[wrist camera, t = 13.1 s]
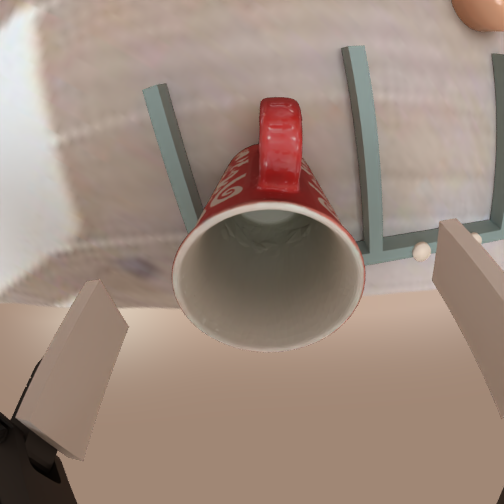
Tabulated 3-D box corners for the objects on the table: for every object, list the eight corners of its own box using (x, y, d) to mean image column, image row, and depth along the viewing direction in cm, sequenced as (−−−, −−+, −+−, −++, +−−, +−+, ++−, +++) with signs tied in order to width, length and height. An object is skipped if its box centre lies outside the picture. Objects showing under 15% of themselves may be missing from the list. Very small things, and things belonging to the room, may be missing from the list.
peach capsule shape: (457, 28, 17) (491, 26, 12) (444, -23, 14) (475, -33, 10) (497, 35, 16) (532, 36, 12) (486, -13, 13) (519, -19, 9)
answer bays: (212, 277, 31) (208, 295, 29) (152, 87, 22) (139, 90, 19) (495, 230, 26) (508, 243, 24) (500, 55, 17) (518, 57, 15)
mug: (313, 239, 28) (337, 359, 17) (212, 228, 28) (176, 344, 17) (339, 97, 21) (413, 132, 10) (220, 83, 21) (167, 99, 10)
